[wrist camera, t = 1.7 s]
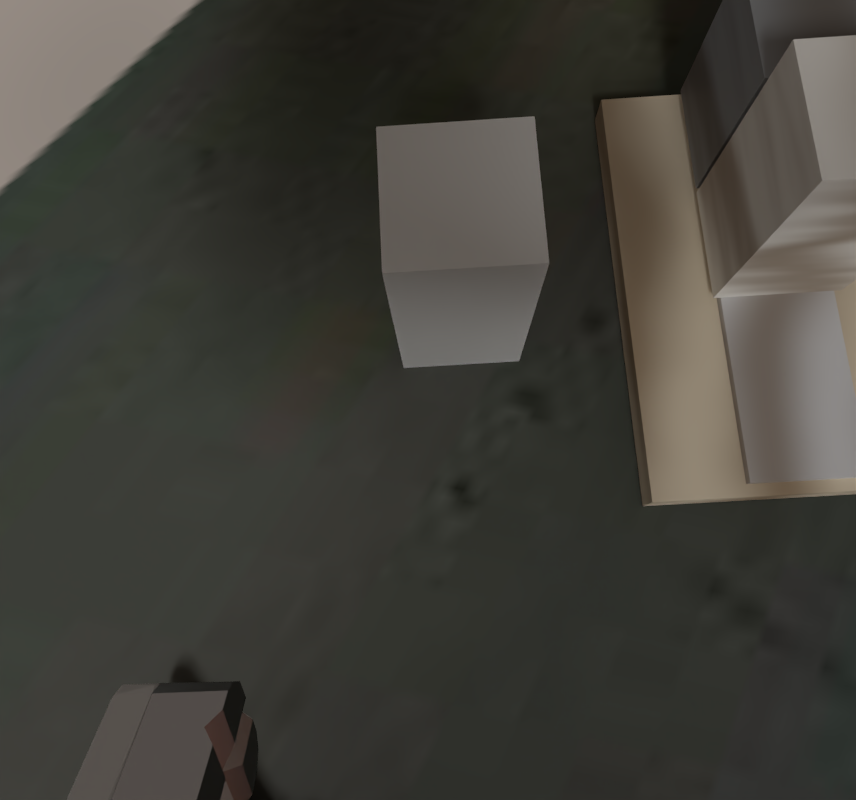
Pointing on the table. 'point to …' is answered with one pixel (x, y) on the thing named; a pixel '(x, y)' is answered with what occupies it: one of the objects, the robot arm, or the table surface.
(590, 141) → the table surface
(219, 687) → the robot arm
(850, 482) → the rail board
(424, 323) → the block
